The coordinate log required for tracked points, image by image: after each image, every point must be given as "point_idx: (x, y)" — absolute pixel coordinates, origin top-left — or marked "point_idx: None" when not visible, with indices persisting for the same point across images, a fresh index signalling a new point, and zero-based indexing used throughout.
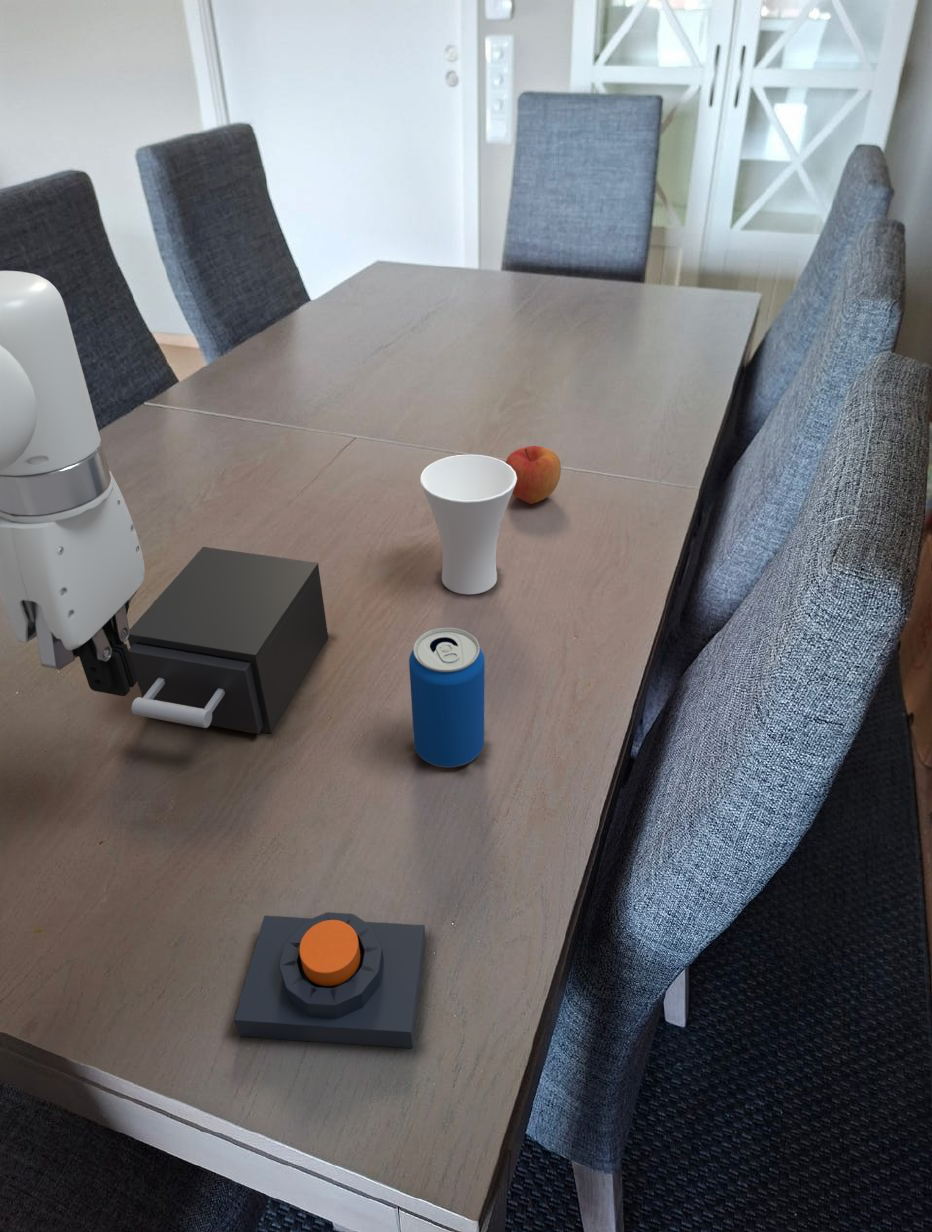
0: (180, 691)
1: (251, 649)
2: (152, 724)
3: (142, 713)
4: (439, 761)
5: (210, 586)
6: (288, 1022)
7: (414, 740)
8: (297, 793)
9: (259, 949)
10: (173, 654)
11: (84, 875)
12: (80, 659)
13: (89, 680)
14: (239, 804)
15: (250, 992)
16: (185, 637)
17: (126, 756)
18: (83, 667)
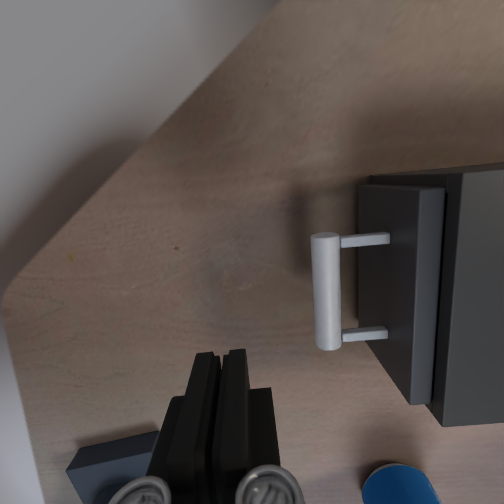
0: (379, 260)
1: (455, 415)
2: (348, 192)
3: (311, 254)
4: (364, 500)
5: None
6: (83, 501)
7: (384, 479)
8: (298, 389)
9: (122, 461)
10: (426, 280)
11: (137, 258)
12: (175, 428)
13: (166, 414)
14: (268, 347)
15: (88, 472)
16: (470, 297)
17: (290, 195)
18: (183, 401)
